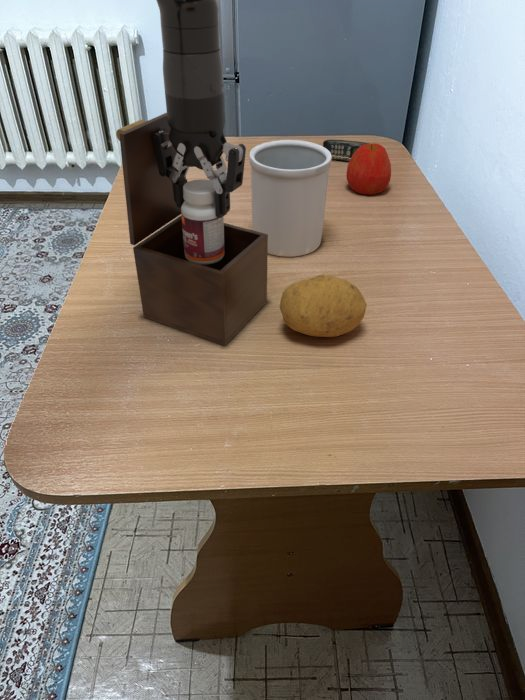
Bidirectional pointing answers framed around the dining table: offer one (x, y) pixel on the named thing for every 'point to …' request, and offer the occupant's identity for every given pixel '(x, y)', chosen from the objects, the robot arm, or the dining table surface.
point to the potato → (322, 306)
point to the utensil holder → (289, 194)
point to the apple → (369, 169)
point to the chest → (203, 282)
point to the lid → (145, 179)
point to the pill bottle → (201, 223)
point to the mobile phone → (342, 148)
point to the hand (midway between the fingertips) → (201, 210)
